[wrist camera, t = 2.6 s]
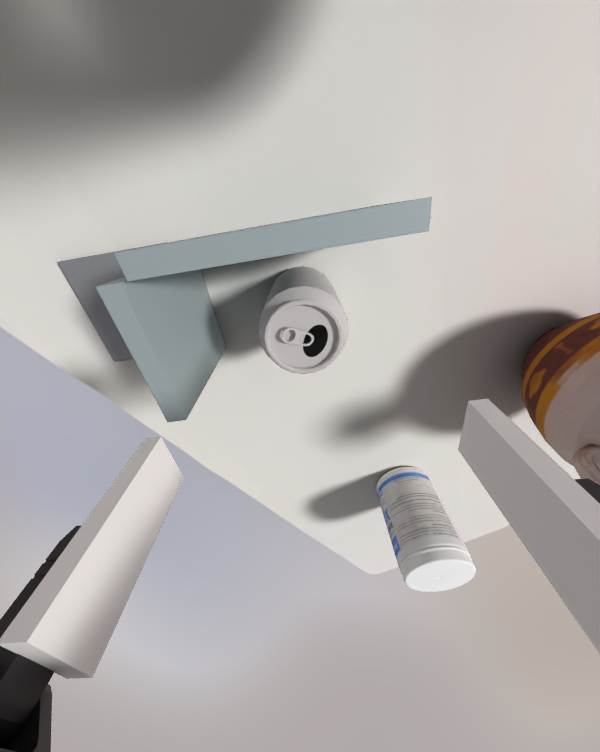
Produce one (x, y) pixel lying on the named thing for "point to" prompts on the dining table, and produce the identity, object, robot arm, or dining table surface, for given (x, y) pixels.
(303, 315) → the can
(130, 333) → the screen
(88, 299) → the coaster
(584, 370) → the jug
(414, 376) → the dining table surface
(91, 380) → the dining table surface
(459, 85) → the dining table surface
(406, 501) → the supplement tub
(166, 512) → the robot arm
